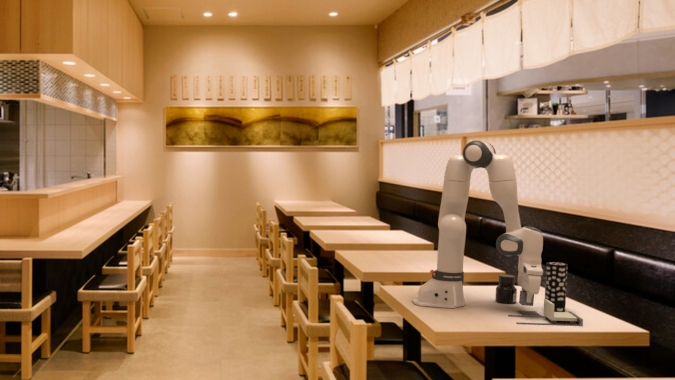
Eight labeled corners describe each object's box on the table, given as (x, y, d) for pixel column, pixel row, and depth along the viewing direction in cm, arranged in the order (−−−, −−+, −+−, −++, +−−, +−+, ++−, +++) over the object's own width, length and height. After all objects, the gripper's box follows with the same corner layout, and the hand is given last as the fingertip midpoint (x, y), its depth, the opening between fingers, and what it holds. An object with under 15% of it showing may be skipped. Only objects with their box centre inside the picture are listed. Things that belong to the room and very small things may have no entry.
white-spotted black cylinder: (562, 314, 264) (565, 266, 263) (541, 311, 268) (544, 263, 267) (567, 310, 271) (569, 263, 270) (546, 307, 275) (549, 261, 274)
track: (516, 325, 244) (517, 317, 244) (507, 316, 256) (508, 309, 256) (582, 327, 244) (583, 319, 244) (570, 318, 256) (570, 311, 256)
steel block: (521, 305, 259) (523, 292, 259) (519, 302, 264) (520, 290, 264) (533, 306, 259) (534, 293, 259) (530, 303, 264) (531, 291, 264)
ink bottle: (519, 305, 278) (521, 278, 277) (499, 305, 277) (501, 277, 276) (511, 300, 287) (512, 273, 287) (492, 300, 286) (493, 273, 286)
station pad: (521, 316, 258) (521, 315, 258) (516, 311, 266) (516, 310, 266) (541, 316, 258) (541, 315, 258) (535, 312, 266) (535, 311, 266)
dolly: (550, 324, 246) (551, 304, 245) (543, 318, 255) (544, 299, 254) (577, 325, 246) (578, 305, 245) (568, 319, 255) (569, 299, 254)
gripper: (515, 261, 271) (512, 294, 272) (528, 270, 251) (525, 305, 252) (530, 263, 271) (527, 295, 272) (544, 271, 251) (541, 307, 251)
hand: (526, 300), depth 262 cm, fingers closed on steel block, 4 cm apart
